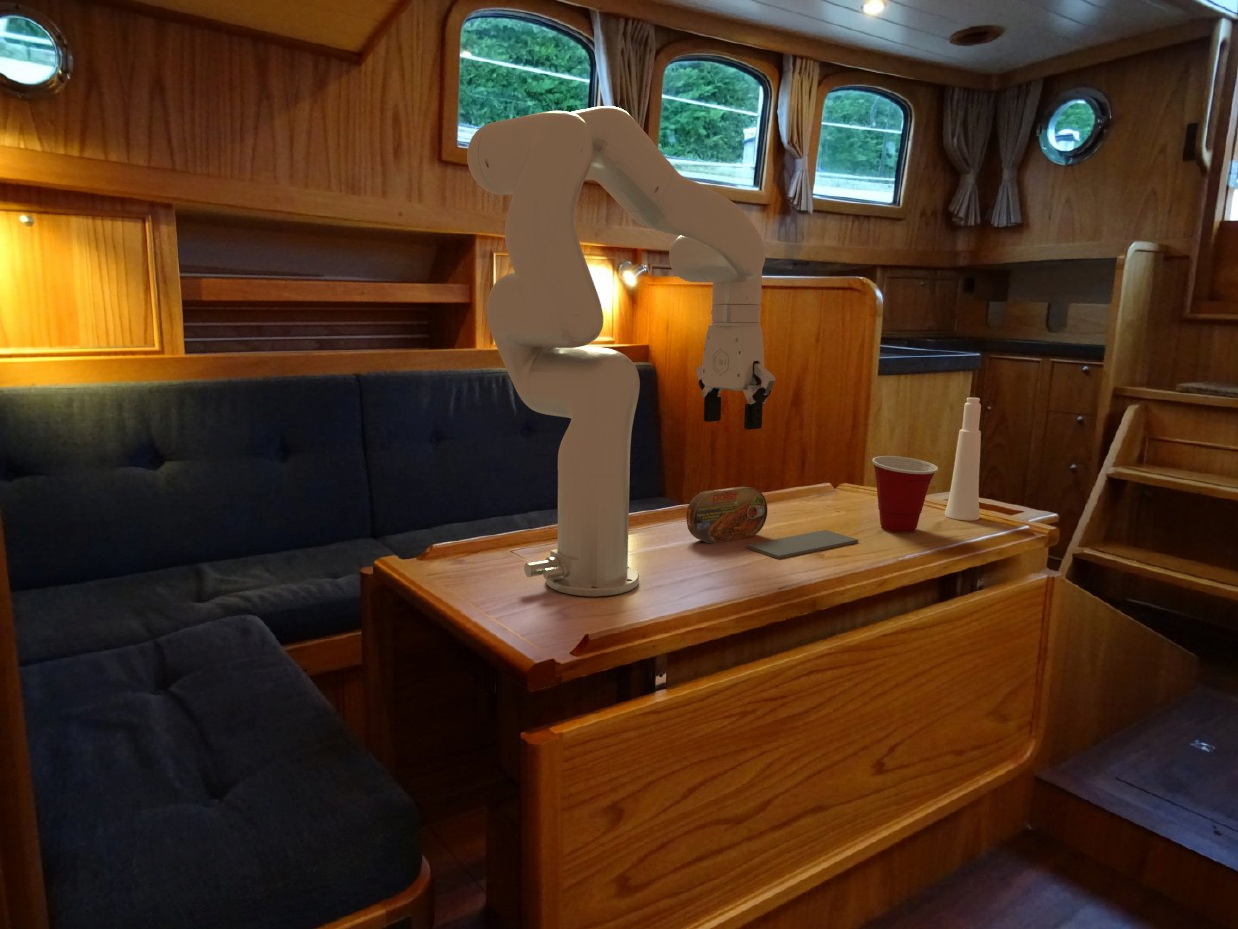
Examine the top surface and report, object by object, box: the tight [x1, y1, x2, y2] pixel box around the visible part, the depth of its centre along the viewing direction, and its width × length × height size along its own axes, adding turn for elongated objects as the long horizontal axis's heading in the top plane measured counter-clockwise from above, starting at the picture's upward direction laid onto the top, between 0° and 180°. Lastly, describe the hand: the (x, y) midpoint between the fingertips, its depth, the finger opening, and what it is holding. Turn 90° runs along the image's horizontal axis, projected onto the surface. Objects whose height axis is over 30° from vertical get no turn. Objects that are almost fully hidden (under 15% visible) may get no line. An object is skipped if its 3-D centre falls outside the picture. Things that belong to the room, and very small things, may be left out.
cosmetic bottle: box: [944, 397, 982, 522], centre depth 155 cm, size 6×6×22 cm
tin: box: [686, 486, 768, 545], centre depth 139 cm, size 15×3×8 cm, turn 120°
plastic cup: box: [871, 455, 939, 534], centre depth 146 cm, size 11×11×12 cm
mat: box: [745, 529, 859, 560], centre depth 136 cm, size 18×7×1 cm, turn 124°
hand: (731, 424), depth 136 cm, fingers open, 9 cm apart
